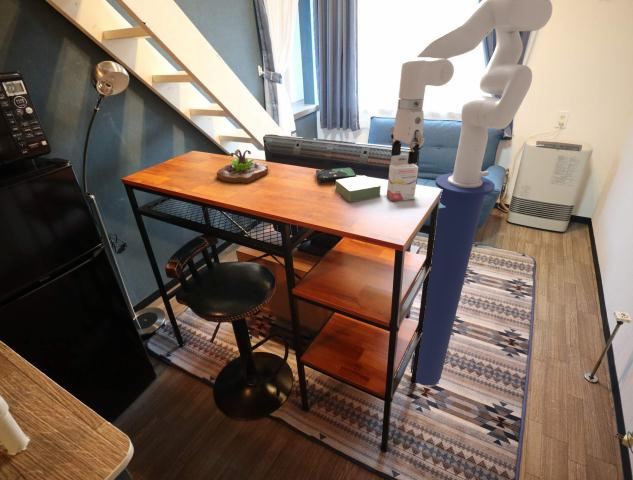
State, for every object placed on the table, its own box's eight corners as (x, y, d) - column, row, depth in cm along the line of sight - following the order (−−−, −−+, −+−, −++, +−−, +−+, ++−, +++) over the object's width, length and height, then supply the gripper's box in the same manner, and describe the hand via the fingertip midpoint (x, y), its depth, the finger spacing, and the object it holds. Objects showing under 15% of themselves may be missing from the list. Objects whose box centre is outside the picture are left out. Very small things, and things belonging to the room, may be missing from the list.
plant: (209, 180, 141) (204, 153, 136) (235, 165, 157) (231, 140, 151) (251, 185, 135) (248, 157, 129) (274, 169, 151) (271, 144, 145)
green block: (363, 185, 132) (364, 175, 130) (379, 196, 123) (380, 185, 121) (335, 190, 129) (335, 179, 127) (349, 202, 119) (349, 191, 117)
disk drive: (320, 185, 134) (356, 181, 136) (319, 178, 133) (357, 174, 134) (315, 176, 143) (350, 172, 145) (315, 169, 141) (350, 166, 143)
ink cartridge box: (391, 201, 119) (395, 159, 111) (386, 196, 123) (389, 155, 115) (414, 199, 120) (420, 157, 112) (409, 193, 124) (414, 153, 117)
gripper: (438, 108, 100) (429, 165, 108) (404, 100, 114) (398, 151, 122) (416, 109, 97) (409, 168, 106) (385, 101, 111) (380, 153, 120)
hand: (403, 159), depth 114 cm, fingers open, 9 cm apart
